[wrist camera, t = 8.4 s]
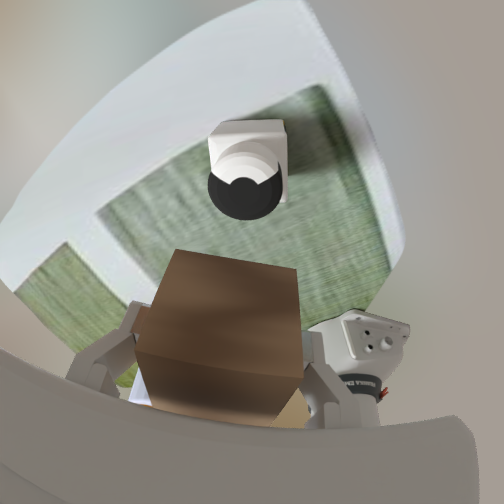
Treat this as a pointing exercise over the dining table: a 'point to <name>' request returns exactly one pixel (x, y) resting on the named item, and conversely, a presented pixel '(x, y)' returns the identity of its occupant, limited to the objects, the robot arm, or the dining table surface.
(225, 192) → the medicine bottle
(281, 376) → the walnut cube
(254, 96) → the dining table surface
